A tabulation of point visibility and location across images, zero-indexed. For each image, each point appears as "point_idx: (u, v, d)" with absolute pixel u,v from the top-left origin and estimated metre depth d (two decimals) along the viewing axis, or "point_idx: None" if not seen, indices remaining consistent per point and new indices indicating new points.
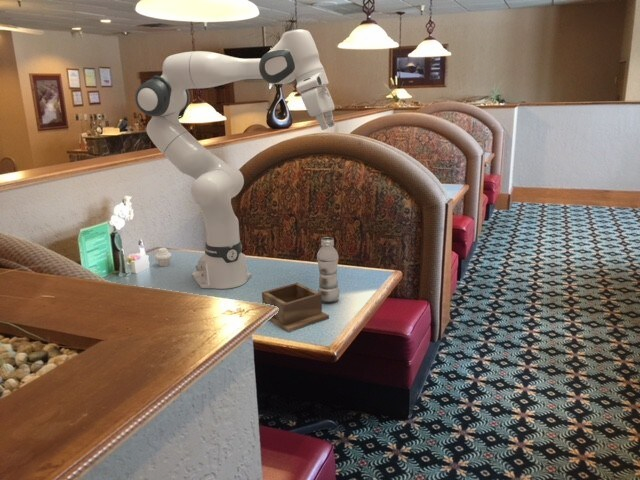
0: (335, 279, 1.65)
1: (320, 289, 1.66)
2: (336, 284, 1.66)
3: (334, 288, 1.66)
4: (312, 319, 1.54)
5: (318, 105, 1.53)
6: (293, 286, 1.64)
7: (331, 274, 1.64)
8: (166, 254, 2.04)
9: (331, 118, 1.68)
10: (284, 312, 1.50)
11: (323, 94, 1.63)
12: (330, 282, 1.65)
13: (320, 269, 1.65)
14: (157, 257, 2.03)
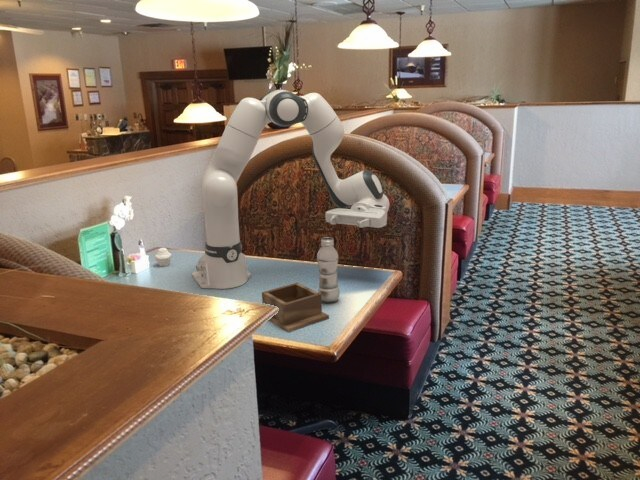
0: (335, 279, 1.65)
1: (320, 289, 1.66)
2: (336, 284, 1.66)
3: (334, 288, 1.66)
4: (312, 319, 1.54)
5: (382, 226, 1.75)
6: (293, 286, 1.64)
7: (331, 274, 1.64)
8: (166, 254, 2.04)
9: None
10: (284, 312, 1.50)
11: None
12: (330, 282, 1.65)
13: (320, 269, 1.65)
14: (157, 257, 2.03)
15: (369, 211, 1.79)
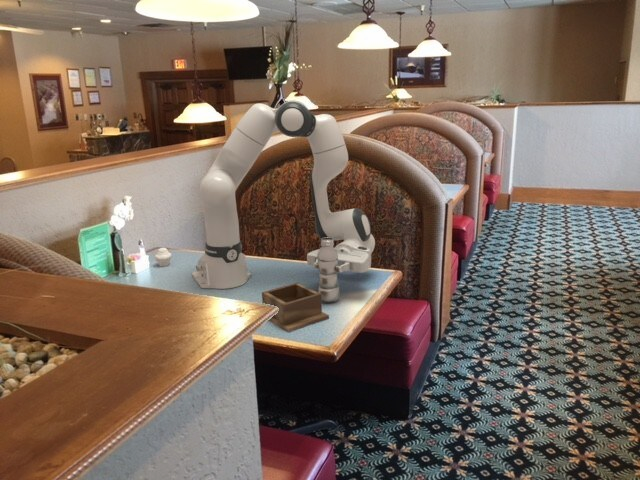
0: (335, 279, 1.65)
1: (320, 289, 1.66)
2: (336, 284, 1.66)
3: (334, 288, 1.66)
4: (312, 319, 1.54)
5: (365, 271, 1.67)
6: (293, 286, 1.64)
7: (331, 274, 1.64)
8: (166, 254, 2.04)
9: None
10: (284, 312, 1.50)
11: None
12: (330, 282, 1.65)
13: (320, 269, 1.65)
14: (157, 257, 2.03)
15: (352, 254, 1.72)
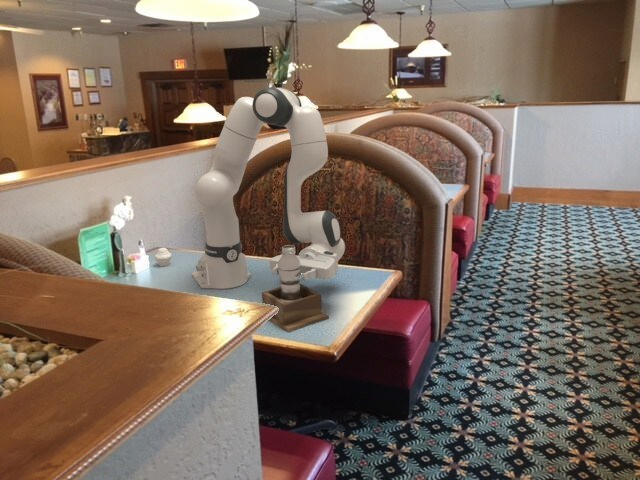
0: (298, 289, 1.56)
1: (282, 300, 1.56)
2: (299, 294, 1.56)
3: None
4: (312, 319, 1.54)
5: (330, 277, 1.56)
6: None
7: (293, 283, 1.54)
8: (166, 254, 2.04)
9: None
10: (284, 312, 1.50)
11: None
12: (292, 292, 1.55)
13: (281, 279, 1.54)
14: (157, 257, 2.03)
15: (318, 259, 1.61)
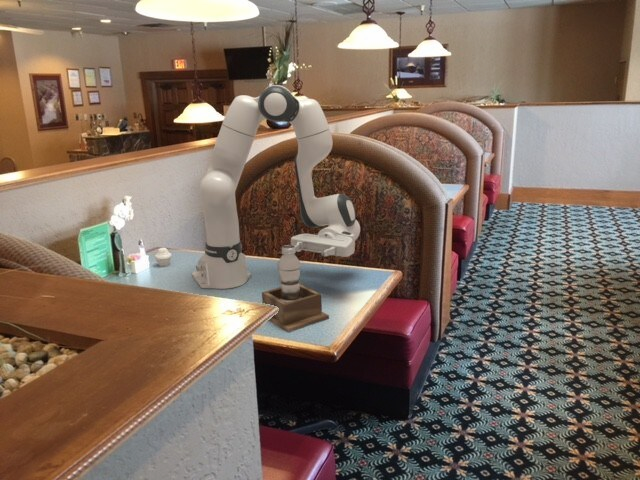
0: (298, 289, 1.56)
1: (282, 300, 1.56)
2: (299, 294, 1.56)
3: None
4: (312, 319, 1.54)
5: (348, 255, 1.66)
6: None
7: (293, 283, 1.54)
8: (166, 254, 2.04)
9: None
10: (284, 312, 1.50)
11: None
12: (292, 292, 1.55)
13: (281, 279, 1.54)
14: (157, 257, 2.03)
15: (336, 238, 1.71)
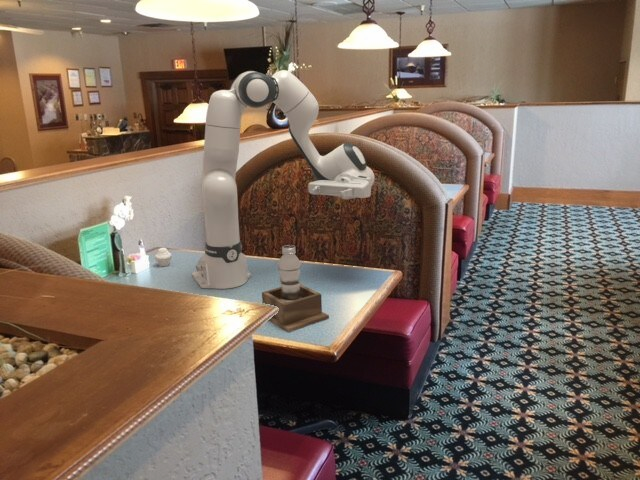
0: (298, 289, 1.56)
1: (282, 300, 1.56)
2: (299, 294, 1.56)
3: None
4: (312, 319, 1.54)
5: (365, 196, 1.71)
6: None
7: (293, 283, 1.54)
8: (166, 254, 2.04)
9: None
10: (284, 312, 1.50)
11: None
12: (292, 292, 1.55)
13: (282, 279, 1.54)
14: (157, 257, 2.03)
15: (353, 182, 1.76)
